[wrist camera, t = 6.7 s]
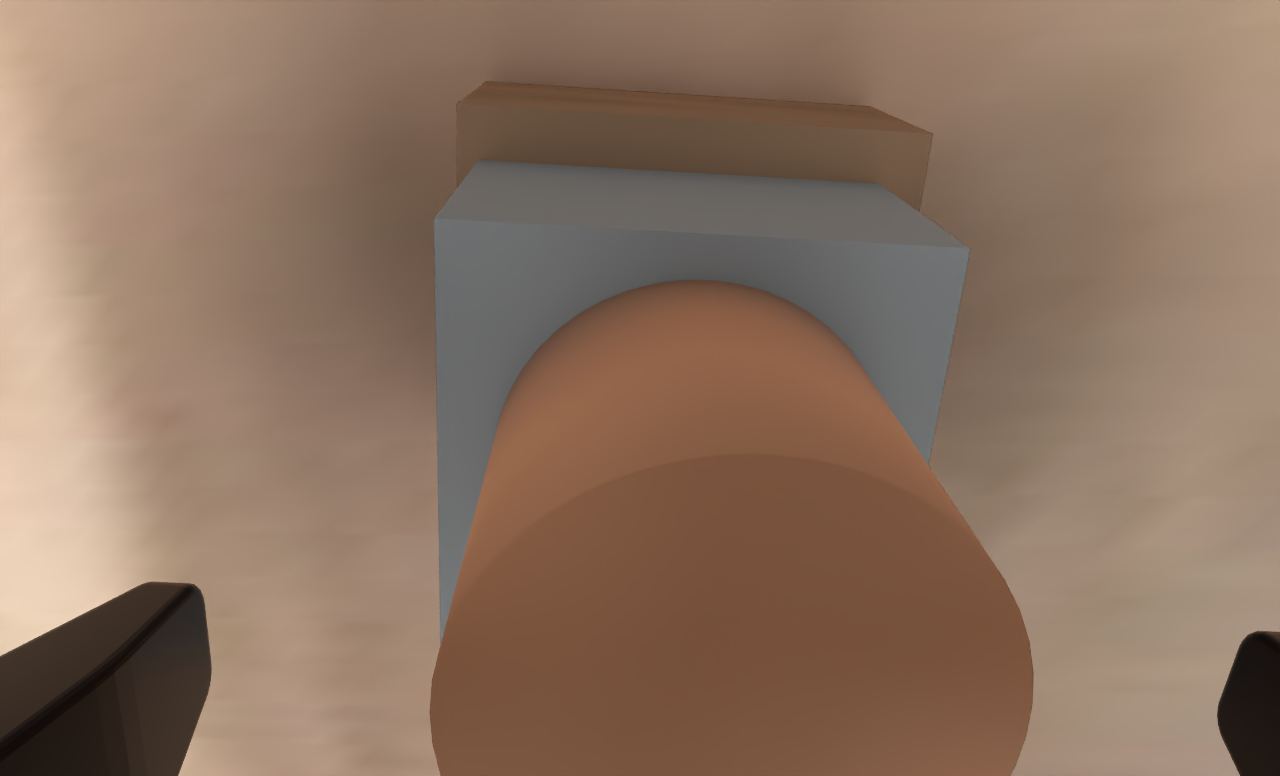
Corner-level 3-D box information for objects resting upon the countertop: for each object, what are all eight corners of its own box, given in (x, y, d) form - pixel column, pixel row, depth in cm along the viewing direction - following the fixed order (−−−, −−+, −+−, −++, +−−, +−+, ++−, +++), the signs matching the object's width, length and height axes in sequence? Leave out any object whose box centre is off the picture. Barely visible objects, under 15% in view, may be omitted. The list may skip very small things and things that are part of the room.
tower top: (826, 530, 17) (886, 681, 13) (478, 516, 17) (440, 667, 13) (878, 183, 15) (970, 248, 11) (477, 160, 14) (433, 219, 11)
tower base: (816, 444, 21) (861, 543, 17) (485, 429, 20) (458, 526, 17) (866, 105, 18) (932, 134, 14) (487, 79, 18) (457, 103, 14)
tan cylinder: (852, 640, 13) (967, 946, 9) (490, 624, 13) (431, 931, 9) (917, 292, 11) (1099, 472, 7) (497, 265, 11) (426, 434, 7)
